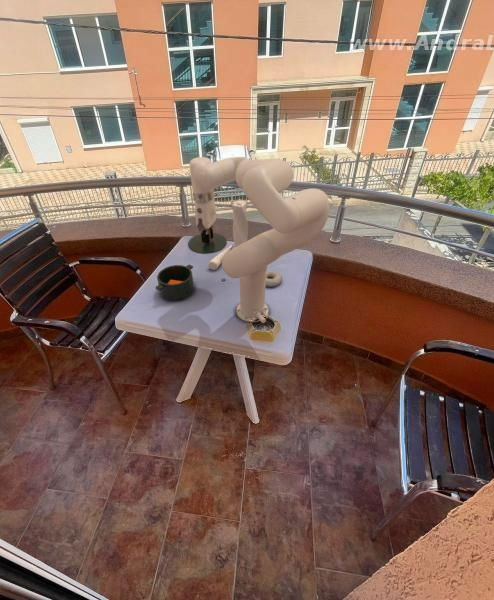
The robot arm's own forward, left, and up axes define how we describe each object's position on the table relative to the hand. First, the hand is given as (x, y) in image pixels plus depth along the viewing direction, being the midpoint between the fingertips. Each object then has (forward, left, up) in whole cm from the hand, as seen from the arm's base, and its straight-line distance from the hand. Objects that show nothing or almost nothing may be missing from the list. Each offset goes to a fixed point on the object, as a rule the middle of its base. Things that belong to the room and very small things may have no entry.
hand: (207, 239), depth 126 cm
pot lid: (0, 0, -2) cm, 2 cm away
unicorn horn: (+17, -15, -23) cm, 32 cm away
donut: (-12, -23, -23) cm, 35 cm away
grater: (+29, -31, -10) cm, 44 cm away
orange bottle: (+6, +14, -23) cm, 27 cm away
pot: (+6, +14, -23) cm, 28 cm away
